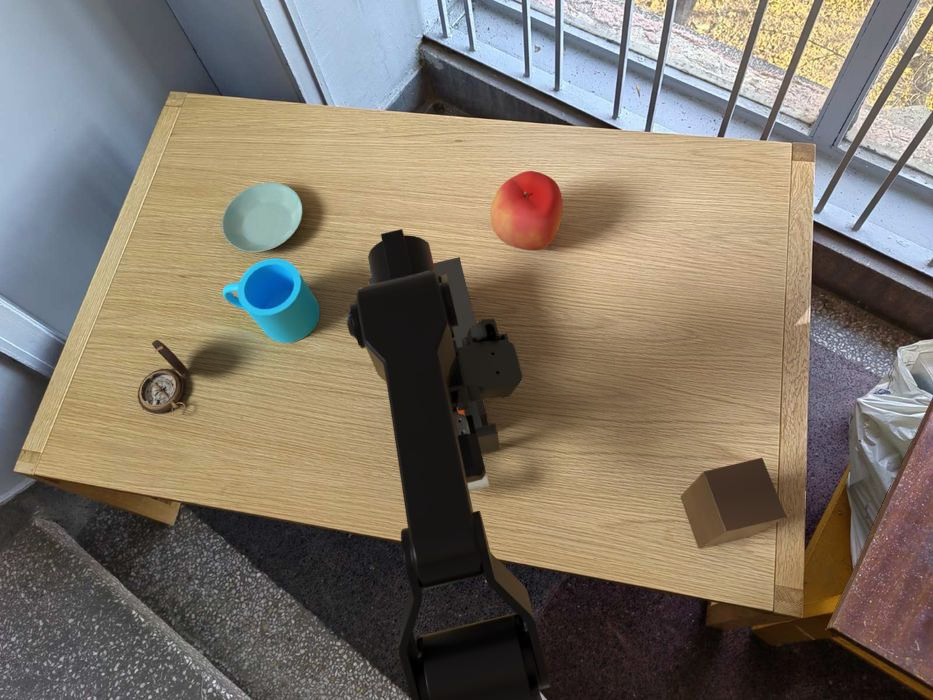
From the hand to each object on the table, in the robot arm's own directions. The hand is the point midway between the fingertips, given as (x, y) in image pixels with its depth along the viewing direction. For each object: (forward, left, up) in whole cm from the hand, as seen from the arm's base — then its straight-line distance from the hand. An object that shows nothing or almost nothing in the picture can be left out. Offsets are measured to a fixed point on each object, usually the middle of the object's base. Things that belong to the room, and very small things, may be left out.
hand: (445, 418), depth 75 cm
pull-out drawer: (+1, 0, -9) cm, 9 cm away
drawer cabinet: (+14, 0, -10) cm, 17 cm away
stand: (-15, -27, -10) cm, 33 cm away
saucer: (+39, +20, -10) cm, 44 cm away
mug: (+24, +20, -10) cm, 32 cm away
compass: (+16, +35, -10) cm, 40 cm away
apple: (+27, -16, -10) cm, 32 cm away
